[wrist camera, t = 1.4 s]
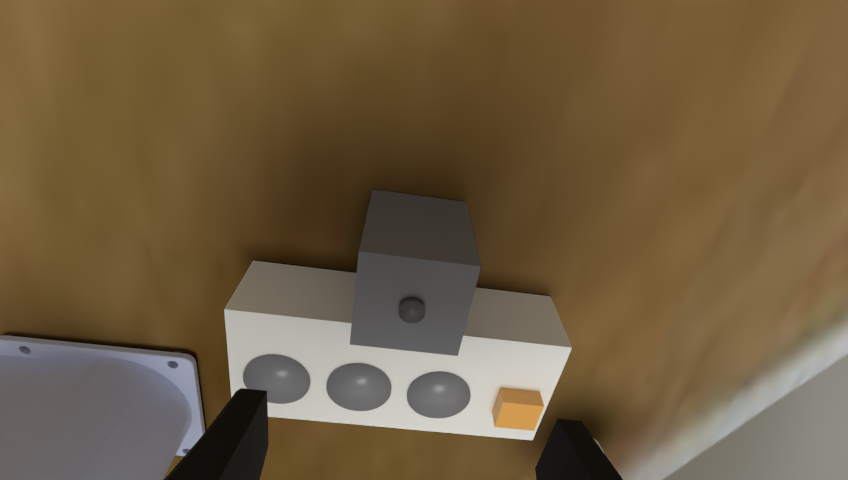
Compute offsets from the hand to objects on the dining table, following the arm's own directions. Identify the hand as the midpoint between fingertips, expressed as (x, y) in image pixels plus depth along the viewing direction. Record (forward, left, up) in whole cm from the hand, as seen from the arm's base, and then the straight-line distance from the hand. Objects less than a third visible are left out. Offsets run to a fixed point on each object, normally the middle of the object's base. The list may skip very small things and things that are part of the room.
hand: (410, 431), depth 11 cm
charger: (0, 0, -10) cm, 10 cm away
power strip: (0, -5, -10) cm, 11 cm away
